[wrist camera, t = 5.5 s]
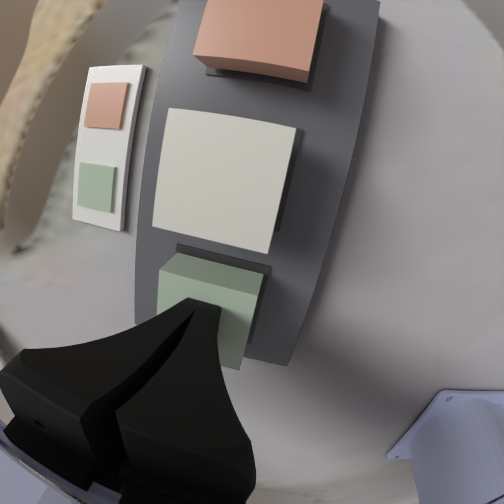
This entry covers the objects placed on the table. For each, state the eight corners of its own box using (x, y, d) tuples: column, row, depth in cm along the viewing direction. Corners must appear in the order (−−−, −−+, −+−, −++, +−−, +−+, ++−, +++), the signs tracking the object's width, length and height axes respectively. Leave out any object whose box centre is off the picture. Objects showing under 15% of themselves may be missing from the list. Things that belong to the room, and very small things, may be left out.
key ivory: (296, 131, 9) (295, 128, 7) (272, 235, 10) (267, 254, 9) (190, 112, 9) (168, 107, 8) (174, 212, 11) (152, 226, 9)
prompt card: (146, 66, 11) (140, 63, 10) (123, 229, 14) (117, 232, 13) (94, 68, 11) (87, 66, 11) (77, 217, 14) (70, 220, 14)
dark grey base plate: (373, 12, 9) (381, 0, 8) (288, 351, 15) (286, 368, 14) (197, -14, 9) (187, -26, 8) (144, 312, 16) (133, 325, 14)
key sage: (263, 274, 12) (257, 295, 10) (246, 344, 13) (239, 370, 11) (177, 252, 12) (159, 269, 10) (171, 323, 13) (155, 345, 12)
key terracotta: (323, 3, 8) (326, -20, 6) (306, 83, 9) (309, 71, 7) (228, -10, 8) (217, -31, 6) (208, 67, 9) (192, 55, 8)
